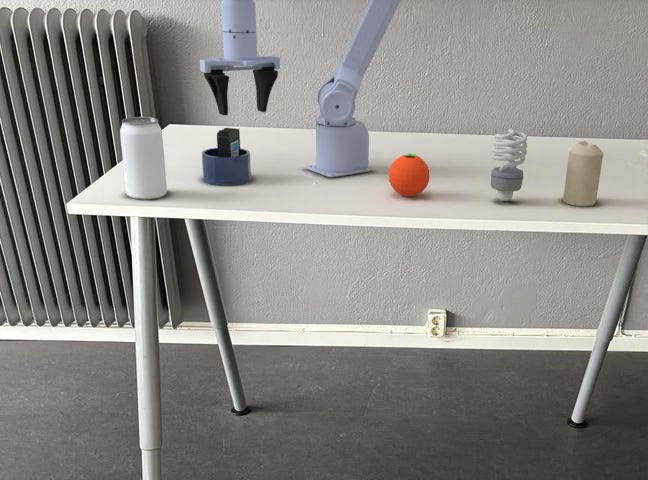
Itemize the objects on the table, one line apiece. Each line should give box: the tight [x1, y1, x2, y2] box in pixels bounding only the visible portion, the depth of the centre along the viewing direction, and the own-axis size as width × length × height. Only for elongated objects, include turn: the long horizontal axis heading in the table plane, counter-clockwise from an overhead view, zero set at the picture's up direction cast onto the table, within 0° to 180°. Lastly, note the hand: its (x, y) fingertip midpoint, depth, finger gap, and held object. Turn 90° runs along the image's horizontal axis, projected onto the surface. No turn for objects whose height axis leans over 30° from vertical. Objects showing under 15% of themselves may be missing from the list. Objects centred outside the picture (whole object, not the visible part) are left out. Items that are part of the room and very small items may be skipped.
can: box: [119, 116, 168, 201], centre depth 134 cm, size 6×6×12 cm
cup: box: [201, 147, 252, 186], centre depth 147 cm, size 8×8×5 cm
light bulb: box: [490, 128, 528, 203], centre depth 138 cm, size 6×6×12 cm
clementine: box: [388, 153, 431, 198], centre depth 141 cm, size 8×7×7 cm
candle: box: [562, 140, 604, 207], centre depth 140 cm, size 6×6×10 cm
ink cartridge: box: [216, 127, 241, 157], centre depth 146 cm, size 5×2×8 cm, turn 167°
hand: (242, 112), depth 149 cm, fingers open, 7 cm apart
